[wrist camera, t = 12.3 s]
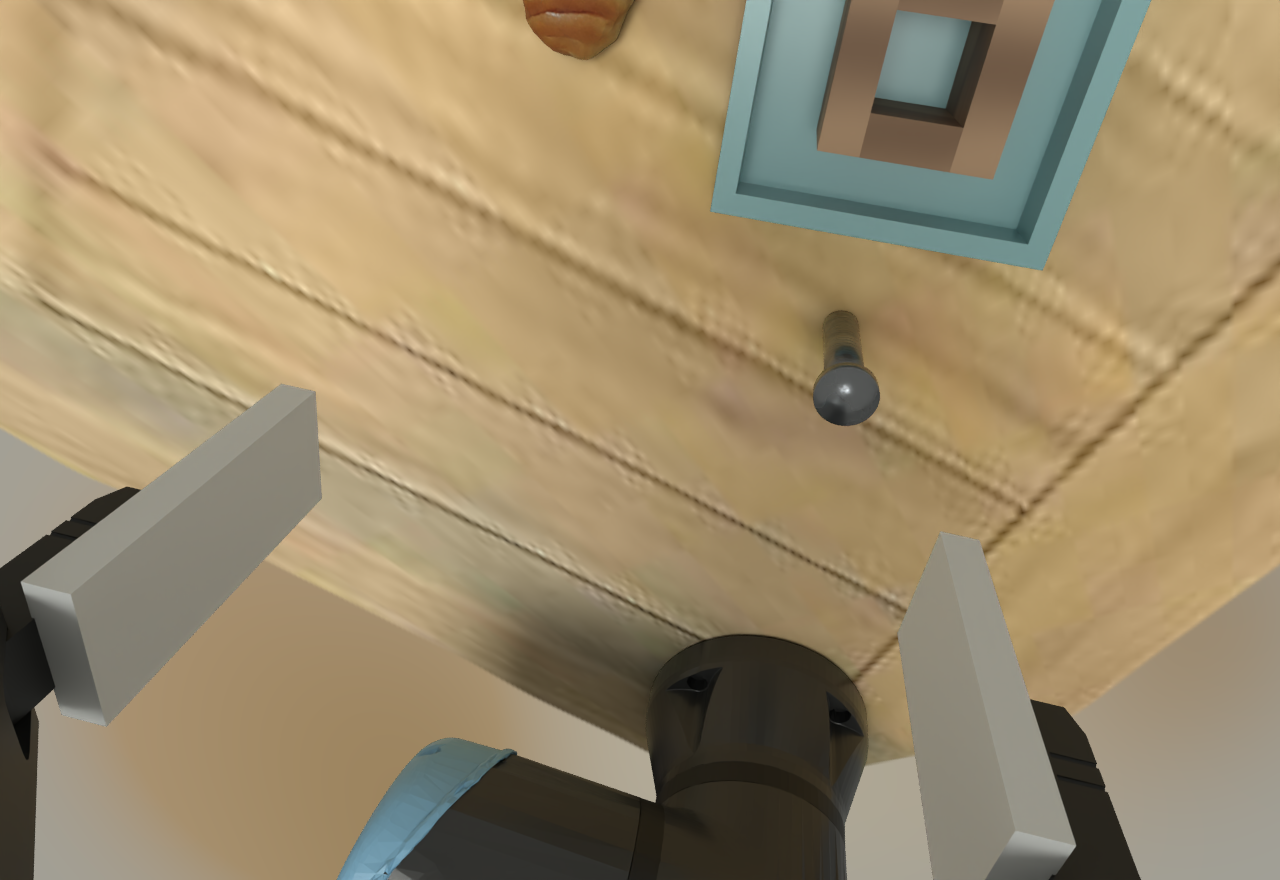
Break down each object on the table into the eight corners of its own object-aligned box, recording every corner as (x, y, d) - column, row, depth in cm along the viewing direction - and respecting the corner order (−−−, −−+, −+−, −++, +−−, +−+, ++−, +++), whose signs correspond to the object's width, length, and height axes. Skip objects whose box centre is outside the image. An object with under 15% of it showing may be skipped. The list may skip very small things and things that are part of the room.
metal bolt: (860, 356, 43) (869, 431, 36) (807, 346, 43) (806, 418, 36) (875, 306, 41) (887, 375, 34) (820, 296, 42) (821, 362, 35)
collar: (971, 154, 36) (993, 179, 32) (816, 129, 37) (816, 150, 33) (1029, -24, 33) (1062, -22, 29) (856, -48, 33) (863, -51, 29)
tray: (1027, 250, 39) (1042, 270, 36) (716, 195, 40) (710, 211, 37) (1174, -132, 31) (1207, -141, 28) (782, -184, 32) (780, -197, 30)
